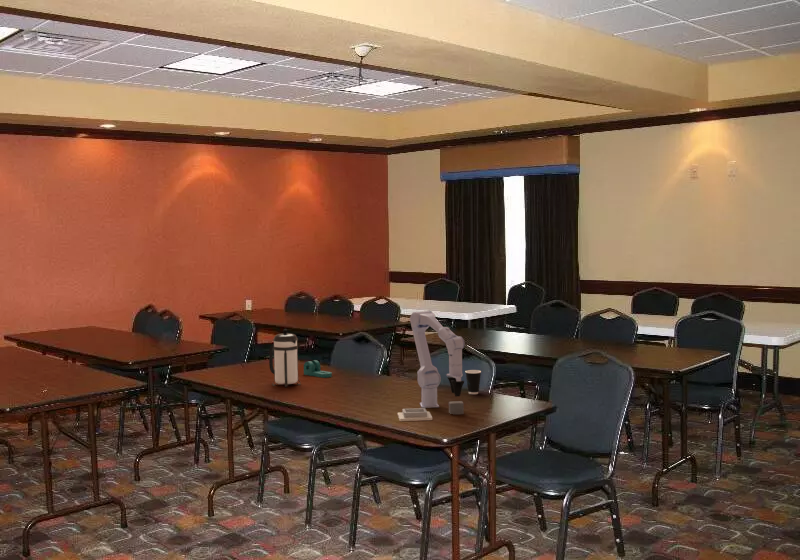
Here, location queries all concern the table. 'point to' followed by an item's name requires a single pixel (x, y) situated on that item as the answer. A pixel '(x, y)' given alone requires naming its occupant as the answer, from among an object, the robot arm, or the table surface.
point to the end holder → (414, 414)
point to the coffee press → (284, 358)
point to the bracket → (315, 369)
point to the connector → (456, 407)
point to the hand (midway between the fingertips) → (455, 394)
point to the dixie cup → (473, 381)
